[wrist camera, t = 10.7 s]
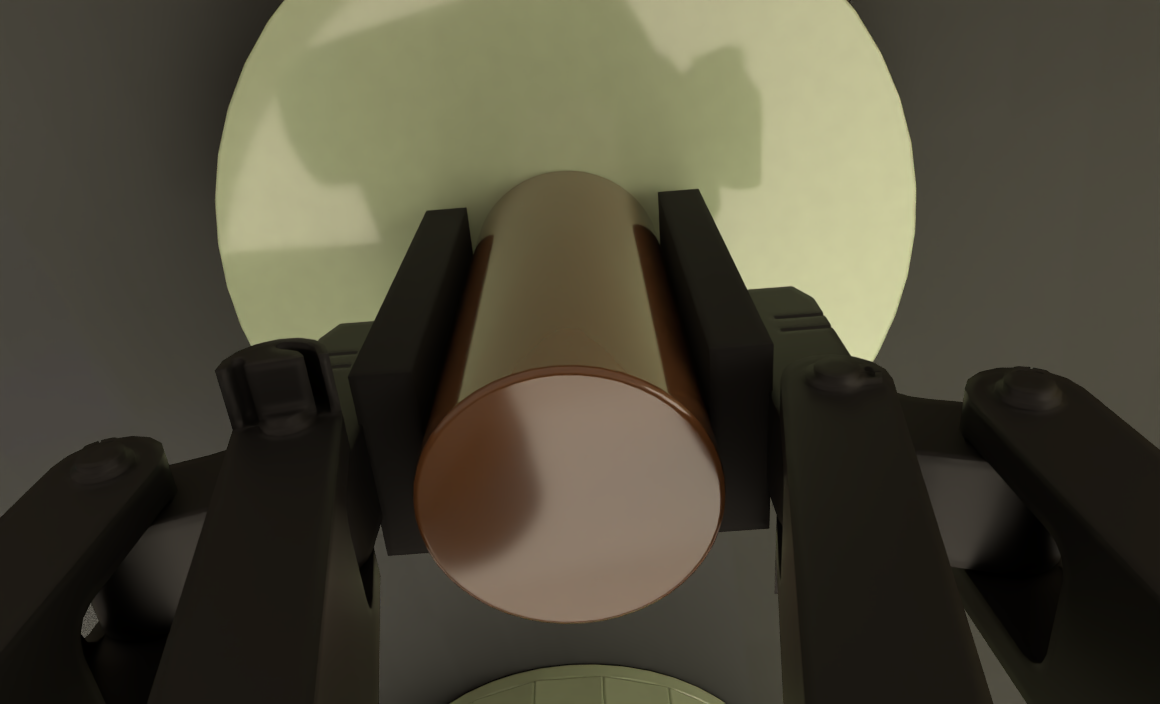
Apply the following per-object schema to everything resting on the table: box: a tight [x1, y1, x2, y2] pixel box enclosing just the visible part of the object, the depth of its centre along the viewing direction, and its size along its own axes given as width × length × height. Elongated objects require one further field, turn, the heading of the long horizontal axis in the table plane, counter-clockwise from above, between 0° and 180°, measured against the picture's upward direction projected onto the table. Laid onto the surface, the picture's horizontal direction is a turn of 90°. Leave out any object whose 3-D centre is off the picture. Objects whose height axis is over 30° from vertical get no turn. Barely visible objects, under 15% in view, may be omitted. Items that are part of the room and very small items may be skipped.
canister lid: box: [215, 0, 916, 624], centre depth 14 cm, size 14×14×9 cm
